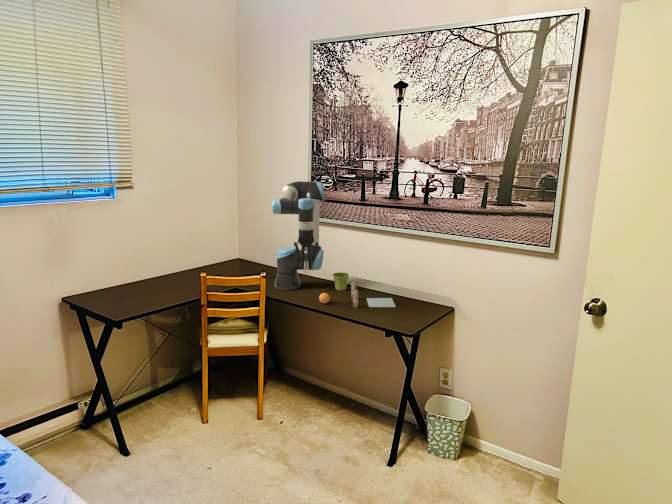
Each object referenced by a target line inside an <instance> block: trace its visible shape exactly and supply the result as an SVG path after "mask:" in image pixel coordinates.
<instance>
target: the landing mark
mask: <svg viewBox="0 0 672 504" xmlns="http://www.w3.org/2000/svg"><path fill="white" fill-rule="evenodd" d="M365 298H366V299H365V300H366V303H367V306H368V308H396V304H395V302H394V300H393V298H392V297H365Z"/></svg>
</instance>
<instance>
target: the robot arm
mask: <svg viewBox="0 0 672 504" xmlns="http://www.w3.org/2000/svg"><path fill="white" fill-rule="evenodd" d="M324 189H325V188H324V183H323V182H322V181H299V180H298V181H294V182H290V183H289V184H286V185H285V186H284V187H283V189H282V190H281V196H280V198H279V199H273V200H272V202H271V209H272V213H273V214H274V215H298V237H297V240H296V241H293V246H290V245H289V246H285V247H281V248H279V249H277V251H276V273H277V274H276V277H275V280H274V284H273V285H274V286H273V287H274V289H277V290H278V291H294V290H298V289H299V288H301V281H300V277H299V274H298V271H299V270H300V271H303V273H304V275H308V274H309V271H319V270H321V268H322V266H323V262H324V261H323V260H324V250H323V249H322V246H321V245H320V243H319V242H320V213H321V212H320V210H321V208H320V207H321V206H323V202H325V201H326V199H325V198H326V197H325V190H324ZM299 245H300V246H301V247H300V248H301V249H300V248H299Z"/></svg>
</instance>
